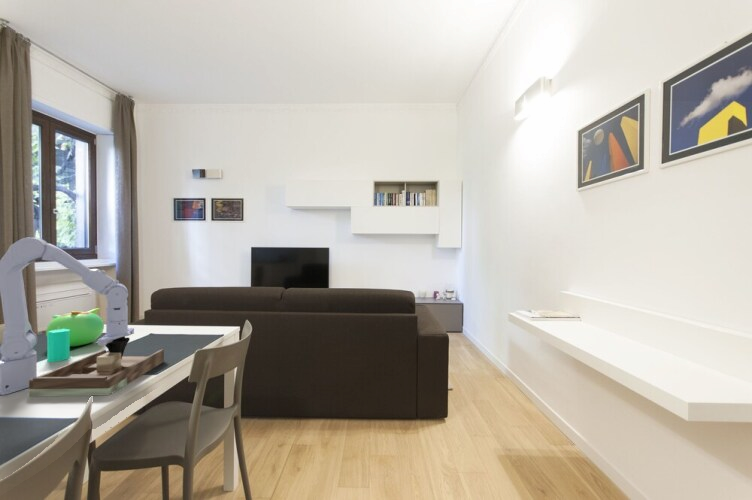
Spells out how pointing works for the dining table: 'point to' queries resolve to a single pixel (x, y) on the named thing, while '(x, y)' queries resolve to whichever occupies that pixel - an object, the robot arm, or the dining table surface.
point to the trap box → (92, 376)
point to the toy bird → (79, 326)
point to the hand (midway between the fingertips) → (117, 360)
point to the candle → (58, 345)
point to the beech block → (108, 361)
